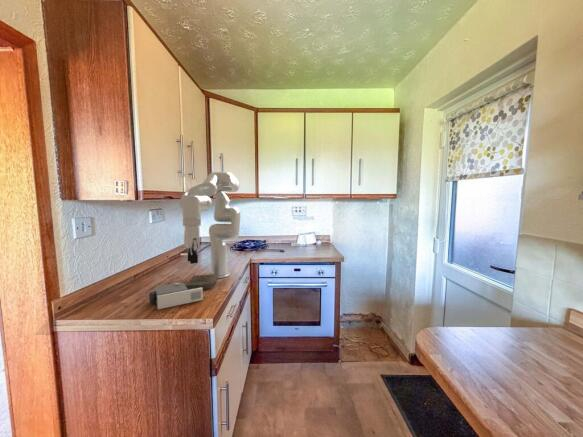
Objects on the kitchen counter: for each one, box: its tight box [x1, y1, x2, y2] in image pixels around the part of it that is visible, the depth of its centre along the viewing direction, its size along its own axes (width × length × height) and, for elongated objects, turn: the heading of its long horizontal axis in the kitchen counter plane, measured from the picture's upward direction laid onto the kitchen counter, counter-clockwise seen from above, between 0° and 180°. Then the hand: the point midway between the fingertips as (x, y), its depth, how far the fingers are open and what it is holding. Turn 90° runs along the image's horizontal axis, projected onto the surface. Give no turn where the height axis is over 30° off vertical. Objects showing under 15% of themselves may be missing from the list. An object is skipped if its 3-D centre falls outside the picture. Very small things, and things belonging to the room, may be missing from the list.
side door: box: [157, 288, 204, 310], centre depth 104 cm, size 1×18×6 cm, turn 124°
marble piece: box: [183, 274, 218, 291], centre depth 129 cm, size 17×15×4 cm
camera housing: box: [148, 281, 188, 310], centre depth 108 cm, size 12×14×7 cm
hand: (192, 261), depth 111 cm, fingers open, 4 cm apart
